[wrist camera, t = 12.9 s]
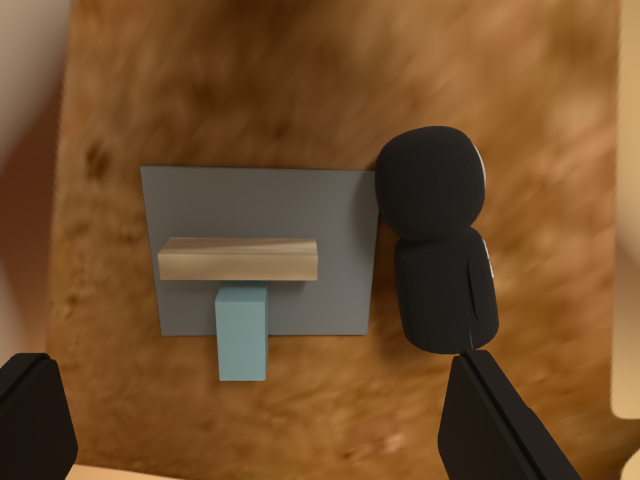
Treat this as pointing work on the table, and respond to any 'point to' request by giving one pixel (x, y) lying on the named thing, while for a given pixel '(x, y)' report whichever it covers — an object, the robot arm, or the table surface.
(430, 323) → the figurine
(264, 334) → the block
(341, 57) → the table surface
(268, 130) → the table surface
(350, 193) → the panel
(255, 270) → the plank
